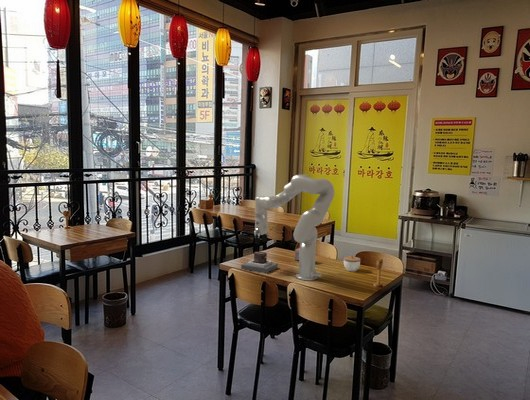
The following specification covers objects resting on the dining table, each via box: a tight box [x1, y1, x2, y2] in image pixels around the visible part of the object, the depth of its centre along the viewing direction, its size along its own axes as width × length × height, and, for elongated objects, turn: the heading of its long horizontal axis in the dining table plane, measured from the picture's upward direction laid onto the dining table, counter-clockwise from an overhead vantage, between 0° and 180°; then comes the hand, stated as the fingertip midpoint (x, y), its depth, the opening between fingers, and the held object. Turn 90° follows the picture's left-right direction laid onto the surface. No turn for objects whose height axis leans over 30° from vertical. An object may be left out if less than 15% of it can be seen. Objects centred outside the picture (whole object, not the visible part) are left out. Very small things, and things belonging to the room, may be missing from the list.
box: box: [253, 251, 268, 264], centre depth 258 cm, size 6×6×7 cm
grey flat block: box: [240, 259, 279, 274], centre depth 258 cm, size 18×16×4 cm
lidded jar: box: [343, 255, 362, 272], centre depth 259 cm, size 11×11×9 cm
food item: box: [294, 247, 300, 261], centre depth 279 cm, size 14×8×10 cm, turn 45°
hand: (261, 242), depth 256 cm, fingers open, 9 cm apart
